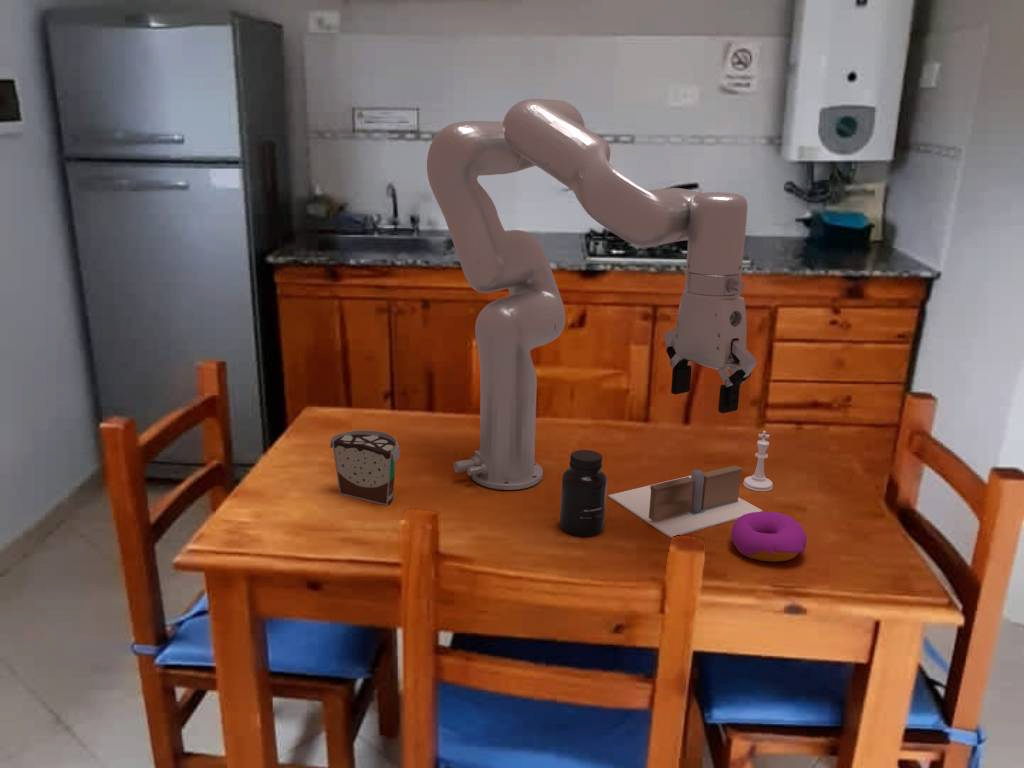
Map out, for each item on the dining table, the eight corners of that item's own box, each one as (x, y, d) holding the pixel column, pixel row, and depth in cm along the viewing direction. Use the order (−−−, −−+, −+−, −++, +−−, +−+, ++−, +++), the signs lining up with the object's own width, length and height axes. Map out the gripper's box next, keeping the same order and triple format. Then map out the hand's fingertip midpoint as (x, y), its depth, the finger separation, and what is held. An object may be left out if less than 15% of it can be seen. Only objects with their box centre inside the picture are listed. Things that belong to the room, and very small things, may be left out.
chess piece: (773, 492, 143) (781, 438, 140) (744, 489, 144) (750, 435, 141) (771, 481, 148) (778, 427, 145) (742, 478, 149) (748, 425, 146)
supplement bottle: (591, 542, 125) (595, 468, 122) (551, 530, 129) (554, 457, 125) (611, 524, 131) (616, 453, 127) (572, 513, 134) (576, 443, 131)
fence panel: (685, 507, 135) (687, 476, 134) (691, 511, 134) (694, 480, 132) (647, 517, 132) (650, 485, 130) (654, 521, 130) (657, 489, 129)
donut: (734, 527, 131) (737, 500, 130) (805, 540, 127) (809, 512, 126) (725, 560, 121) (729, 530, 120) (802, 574, 118) (806, 544, 117)
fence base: (670, 538, 127) (674, 495, 125) (608, 496, 140) (610, 457, 138) (762, 512, 136) (767, 472, 134) (695, 475, 149) (699, 438, 147)
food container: (415, 493, 140) (414, 436, 137) (395, 507, 135) (394, 449, 132) (353, 478, 145) (351, 424, 142) (332, 492, 140) (329, 436, 136)
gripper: (780, 292, 111) (767, 414, 116) (689, 272, 126) (682, 382, 131) (739, 297, 108) (728, 424, 113) (650, 277, 122) (644, 390, 127)
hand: (703, 401), depth 122 cm, fingers open, 9 cm apart
